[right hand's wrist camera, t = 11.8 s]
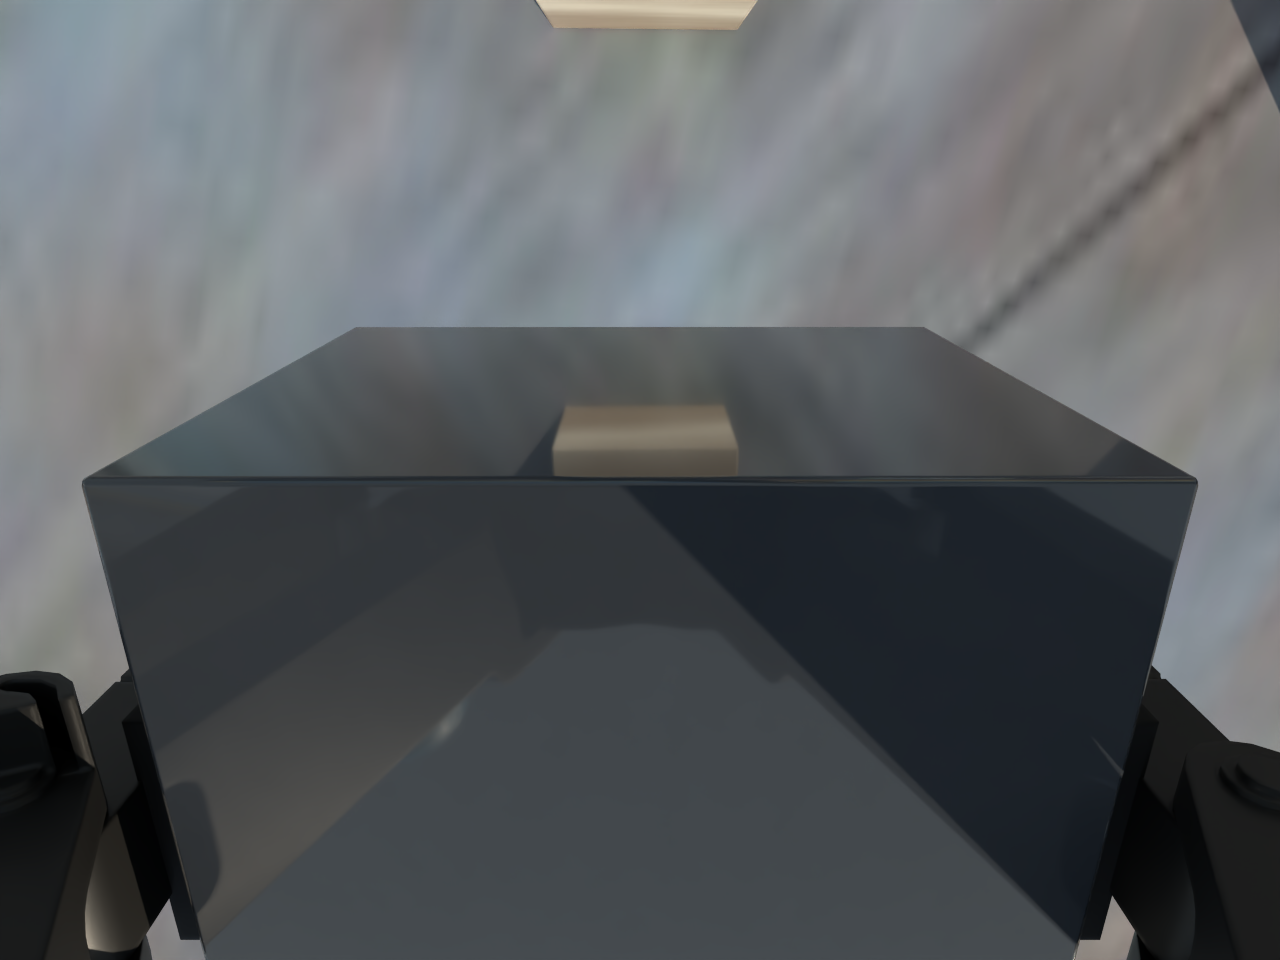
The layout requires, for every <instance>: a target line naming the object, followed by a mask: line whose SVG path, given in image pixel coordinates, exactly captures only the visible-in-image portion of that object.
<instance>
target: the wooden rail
mask: <svg viewBox="0 0 1280 960" xmlns="http://www.w3.org/2000/svg"><path fill="white" fill-rule="evenodd" d="M536 2H537V3H538V5H539V6H540V8H541V10H542V11H543V13H544V14H545V16H546V17H547V19H548V21H549V22H550V24H551V25H552V27H554V28H624V29H710V30H737V29H738V28H739V27H740V25H741V24H742V22H743V21H744V19H745V18H746V16H747V15H748V13H749V12H750V11H751V9H752V8H753V6H754V5H755V3H756V2H757V0H536Z"/></svg>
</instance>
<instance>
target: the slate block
mask: <svg viewBox="0 0 1280 960" xmlns="http://www.w3.org/2000/svg"><path fill="white" fill-rule="evenodd" d="M1197 488H1198V481H1197V479H1196V478H1195V477H1193V476H1192V475H1190V474H1188V473H1186V472H1184V471H1183V470H1181V469H1179V468H1177V467H1175V466H1174V465H1172V464H1170V463H1168V462H1166V461H1165V460H1163V459H1161V458H1159V457H1157V456H1156V455H1154V454H1152V453H1150V452H1148V451H1147V450H1145V449H1143V448H1141V447H1139V446H1138V445H1136V444H1134V443H1132V442H1130V441H1129V440H1127V439H1125V438H1123V437H1121V436H1119V435H1118V434H1116V433H1114V432H1112V431H1110V430H1109V429H1107V428H1105V427H1103V426H1101V425H1100V424H1098V423H1096V422H1094V421H1092V420H1091V419H1089V418H1087V417H1085V416H1083V415H1082V414H1080V413H1078V412H1076V411H1074V410H1073V409H1071V408H1069V407H1067V406H1065V405H1064V404H1062V403H1060V402H1058V401H1056V400H1055V399H1053V398H1051V397H1049V396H1047V395H1046V394H1044V393H1042V392H1040V391H1038V390H1037V389H1035V388H1033V387H1031V386H1029V385H1028V384H1026V383H1024V382H1022V381H1020V380H1019V379H1017V378H1015V377H1013V376H1011V375H1010V374H1008V373H1006V372H1004V371H1002V370H1001V369H999V368H997V367H995V366H993V365H992V364H990V363H988V362H986V361H984V360H983V359H981V358H979V357H977V356H975V355H974V354H972V353H970V352H968V351H966V350H965V349H963V348H961V347H959V346H957V345H956V344H954V343H952V342H950V341H948V340H947V339H945V338H943V337H941V336H939V335H938V334H936V333H934V332H932V331H930V330H929V329H927V328H924V327H356V328H354V329H352V330H350V331H348V332H346V333H344V334H343V335H341V336H339V337H337V338H335V339H334V340H332V341H330V342H328V343H326V344H325V345H323V346H321V347H319V348H317V349H316V350H314V351H312V352H310V353H309V354H307V355H305V356H303V357H301V358H300V359H298V360H296V361H294V362H292V363H291V364H289V365H287V366H285V367H283V368H282V369H280V370H278V371H276V372H274V373H273V374H271V375H269V376H267V377H265V378H264V379H262V380H260V381H258V382H256V383H255V384H253V385H251V386H249V387H247V388H246V389H244V390H242V391H240V392H238V393H237V394H235V395H233V396H231V397H229V398H228V399H226V400H224V401H222V402H220V403H219V404H217V405H215V406H213V407H211V408H210V409H208V410H206V411H204V412H202V413H201V414H199V415H197V416H195V417H193V418H192V419H190V420H188V421H186V422H184V423H183V424H181V425H179V426H177V427H176V428H174V429H172V430H170V431H168V432H167V433H165V434H163V435H161V436H159V437H158V438H156V439H154V440H152V441H150V442H149V443H147V444H145V445H143V446H141V447H140V448H138V449H136V450H134V451H132V452H131V453H129V454H127V455H125V456H123V457H122V458H120V459H118V460H116V461H114V462H113V463H111V464H109V465H107V466H105V467H104V468H102V469H100V470H98V471H96V472H95V473H93V474H91V475H89V476H87V477H86V478H84V480H83V481H82V489H83V493H84V496H85V500H86V504H87V508H88V512H89V516H90V519H91V523H92V527H93V531H94V535H95V539H96V542H97V546H98V550H99V554H100V558H101V562H102V565H103V569H104V573H105V577H106V581H107V585H108V588H109V592H110V596H111V600H112V604H113V608H114V611H115V615H116V619H117V623H118V627H119V631H120V634H121V638H122V642H123V646H124V650H125V654H126V657H127V661H128V665H129V669H130V673H131V677H132V680H133V684H134V688H135V692H136V696H137V700H138V703H139V707H140V711H141V715H142V719H143V723H144V726H145V730H146V734H147V738H148V742H149V746H150V749H151V753H152V757H153V761H154V765H155V769H156V772H157V776H158V780H159V784H160V788H161V791H162V795H163V799H164V803H165V807H166V811H167V814H168V818H169V822H170V826H171V830H172V834H173V837H174V841H175V845H176V849H177V853H178V857H179V860H180V864H181V868H182V872H183V876H184V880H185V883H186V887H187V891H188V895H189V899H190V903H191V906H192V910H193V914H194V918H195V922H196V926H197V929H198V933H199V937H200V941H201V945H202V949H203V952H204V956H205V960H1075V957H1076V953H1077V949H1078V946H1079V942H1080V938H1081V934H1082V930H1083V926H1084V923H1085V919H1086V915H1087V911H1088V907H1089V903H1090V899H1091V896H1092V892H1093V888H1094V884H1095V880H1096V876H1097V873H1098V869H1099V865H1100V861H1101V857H1102V853H1103V849H1104V846H1105V842H1106V838H1107V834H1108V830H1109V826H1110V823H1111V819H1112V815H1113V811H1114V807H1115V803H1116V800H1117V796H1118V792H1119V788H1120V784H1121V780H1122V776H1123V773H1124V769H1125V765H1126V761H1127V757H1128V753H1129V750H1130V746H1131V742H1132V738H1133V734H1134V730H1135V726H1136V723H1137V719H1138V715H1139V711H1140V707H1141V703H1142V700H1143V696H1144V692H1145V688H1146V684H1147V680H1148V676H1149V673H1150V669H1151V665H1152V661H1153V657H1154V653H1155V650H1156V646H1157V642H1158V638H1159V634H1160V630H1161V627H1162V623H1163V619H1164V615H1165V611H1166V607H1167V603H1168V600H1169V596H1170V592H1171V588H1172V584H1173V580H1174V577H1175V573H1176V569H1177V565H1178V561H1179V557H1180V553H1181V550H1182V546H1183V542H1184V538H1185V534H1186V530H1187V527H1188V523H1189V519H1190V515H1191V511H1192V507H1193V503H1194V500H1195V496H1196V492H1197Z"/></svg>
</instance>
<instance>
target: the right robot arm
mask: <svg viewBox="0 0 1280 960" xmlns="http://www.w3.org/2000/svg"><path fill="white" fill-rule="evenodd" d="M1112 896H1113V897H1114V899H1115V900H1116V902H1117V903H1118V905H1119V906H1120V908H1121V910H1122V911H1123V913H1124V914H1125V916H1126V917H1127V919H1128V920H1129V922H1130V923H1131V925H1132V926H1133V928H1134V930H1135V932H1134V936H1133V939H1132V943H1131V946H1130V950H1129V953H1128V957H1127V960H1280V752H1276V751H1273V750H1270V749H1267V748H1263V747H1260V746H1257V745H1254V744H1249V743H1241V742H1233V741H1229V740H1228V739H1227V738H1226V737H1225V736H1224V735H1223V734H1222V733H1221V732H1220V731H1219V730H1218V729H1217V728H1216V727H1215V726H1214V725H1213V724H1212V723H1211V722H1210V721H1209V720H1208V719H1207V718H1205V717H1204V716H1203V715H1202V714H1201V713H1200V712H1199V711H1198V710H1197V709H1196V708H1195V707H1194V706H1193V705H1192V704H1191V703H1190V702H1189V701H1188V700H1187V699H1186V698H1185V697H1184V696H1183V695H1182V694H1181V693H1180V692H1179V691H1178V690H1177V689H1176V688H1175V687H1174V686H1172V685H1171V684H1170V683H1169V682H1168V681H1167V680H1166V679H1161V677H1160V673H1159V672H1158V671H1157V670H1156V669H1155V668H1154V667H1153V666H1152V665H1151V669H1150V673H1149V676H1148V680H1147V684H1146V688H1145V692H1144V696H1143V700H1142V703H1141V707H1140V711H1139V715H1138V719H1137V723H1136V726H1135V730H1134V734H1133V738H1132V742H1131V746H1130V750H1129V753H1128V757H1127V761H1126V765H1125V769H1124V773H1123V776H1122V780H1121V784H1120V788H1119V792H1118V796H1117V800H1116V803H1115V807H1114V811H1113V815H1112V819H1111V823H1110V826H1109V830H1108V834H1107V838H1106V842H1105V846H1104V849H1103V853H1102V857H1101V861H1100V865H1099V869H1098V873H1097V876H1096V880H1095V884H1094V888H1093V892H1092V896H1091V899H1090V903H1089V907H1088V911H1087V915H1086V919H1085V923H1084V926H1083V930H1082V934H1081V938H1080V940H1100V938H1101V934H1102V931H1103V927H1104V923H1105V920H1106V916H1107V912H1108V909H1109V905H1110V901H1111V897H1112ZM168 899H170V903H171V906H172V910H173V914H174V917H175V921H176V925H177V928H178V932H179V936H180V939H181V940H200V937H199V933H198V929H197V926H196V922H195V918H194V914H193V910H192V906H191V903H190V899H189V895H188V891H187V887H186V883H185V880H184V876H183V872H182V868H181V864H180V860H179V857H178V853H177V849H176V845H175V841H174V837H173V834H172V830H171V826H170V822H169V818H168V814H167V811H166V807H165V803H164V799H163V795H162V791H161V788H160V784H159V780H158V776H157V772H156V769H155V765H154V761H153V757H152V753H151V749H150V746H149V742H148V738H147V734H146V730H145V726H144V723H143V719H142V715H141V711H140V707H139V703H138V700H137V696H136V692H135V688H134V684H133V680H132V677H131V673H130V669H128V670H127V671H126V672H125V673H124V674H123V675H122V676H121V681H120V682H115V683H114V684H113V685H112V686H111V687H110V688H109V689H108V690H107V691H106V692H105V693H104V694H103V695H102V696H101V697H100V698H99V699H98V700H97V701H96V702H95V703H94V704H93V705H92V706H91V707H90V708H89V709H87V710H86V711H85V712H84V713H83V714H82V712H81V709H80V706H79V702H78V699H77V695H76V692H75V688H74V685H73V682H72V681H70V680H69V679H67V678H66V677H64V676H63V675H61V674H59V673H51V672H42V671H30V672H21V673H12V674H5V675H1V676H0V960H152V956H151V950H150V946H149V943H148V939H147V936H146V933H147V932H148V930H149V929H150V927H151V926H152V924H153V923H154V921H155V919H156V918H157V916H158V915H159V913H160V912H161V910H162V909H163V907H164V906H165V904H166V902H167V901H168Z"/></svg>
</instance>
